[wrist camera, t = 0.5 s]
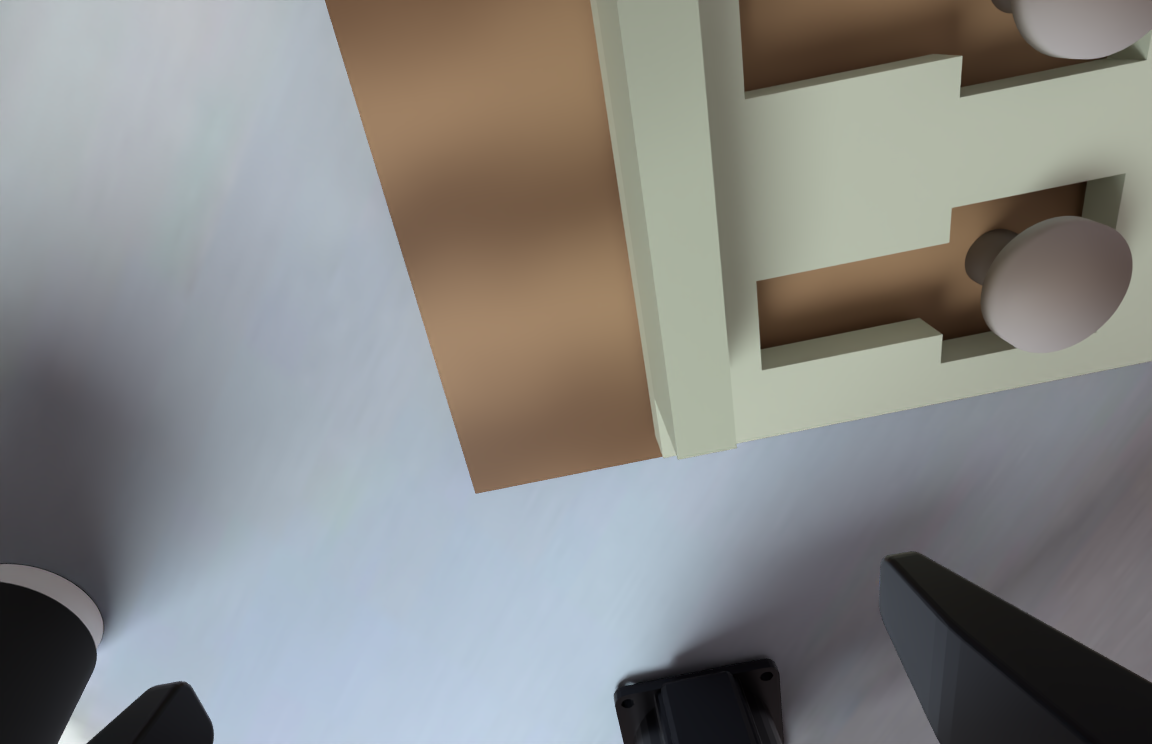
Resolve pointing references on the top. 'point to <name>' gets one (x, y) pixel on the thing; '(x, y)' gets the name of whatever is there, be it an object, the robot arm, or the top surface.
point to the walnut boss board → (595, 223)
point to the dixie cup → (43, 652)
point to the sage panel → (843, 214)
